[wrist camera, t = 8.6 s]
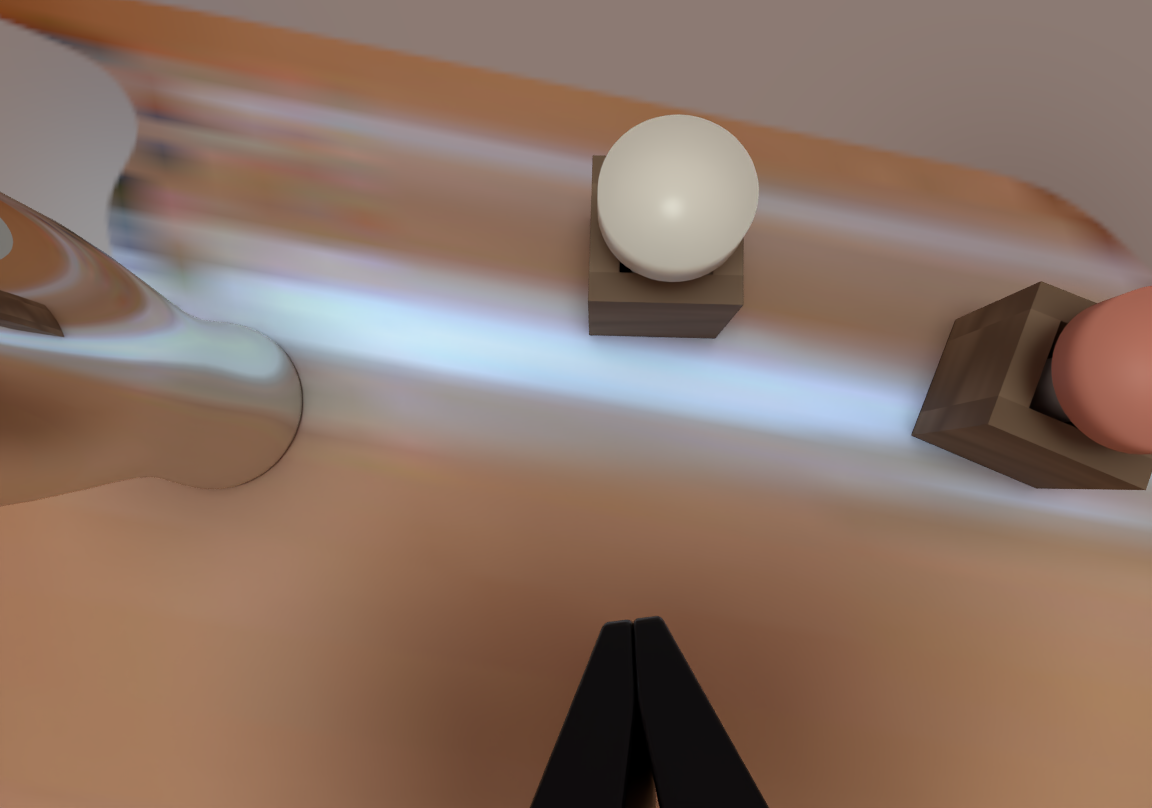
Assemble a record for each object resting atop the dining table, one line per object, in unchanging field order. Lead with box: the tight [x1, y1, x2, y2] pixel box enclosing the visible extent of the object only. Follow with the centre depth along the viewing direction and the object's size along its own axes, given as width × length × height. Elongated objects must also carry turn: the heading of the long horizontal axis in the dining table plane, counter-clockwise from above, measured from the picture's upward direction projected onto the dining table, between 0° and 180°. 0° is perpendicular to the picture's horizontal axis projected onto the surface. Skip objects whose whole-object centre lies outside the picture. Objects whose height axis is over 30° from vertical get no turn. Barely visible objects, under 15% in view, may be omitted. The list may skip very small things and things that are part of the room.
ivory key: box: [597, 115, 759, 282], centre depth 19 cm, size 4×4×5 cm
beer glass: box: [0, 192, 302, 507], centre depth 16 cm, size 7×7×15 cm
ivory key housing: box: [588, 155, 744, 338], centre depth 21 cm, size 5×5×4 cm
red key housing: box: [912, 281, 1152, 490], centre depth 20 cm, size 5×5×4 cm
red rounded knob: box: [1029, 286, 1152, 455], centre depth 18 cm, size 4×4×5 cm
